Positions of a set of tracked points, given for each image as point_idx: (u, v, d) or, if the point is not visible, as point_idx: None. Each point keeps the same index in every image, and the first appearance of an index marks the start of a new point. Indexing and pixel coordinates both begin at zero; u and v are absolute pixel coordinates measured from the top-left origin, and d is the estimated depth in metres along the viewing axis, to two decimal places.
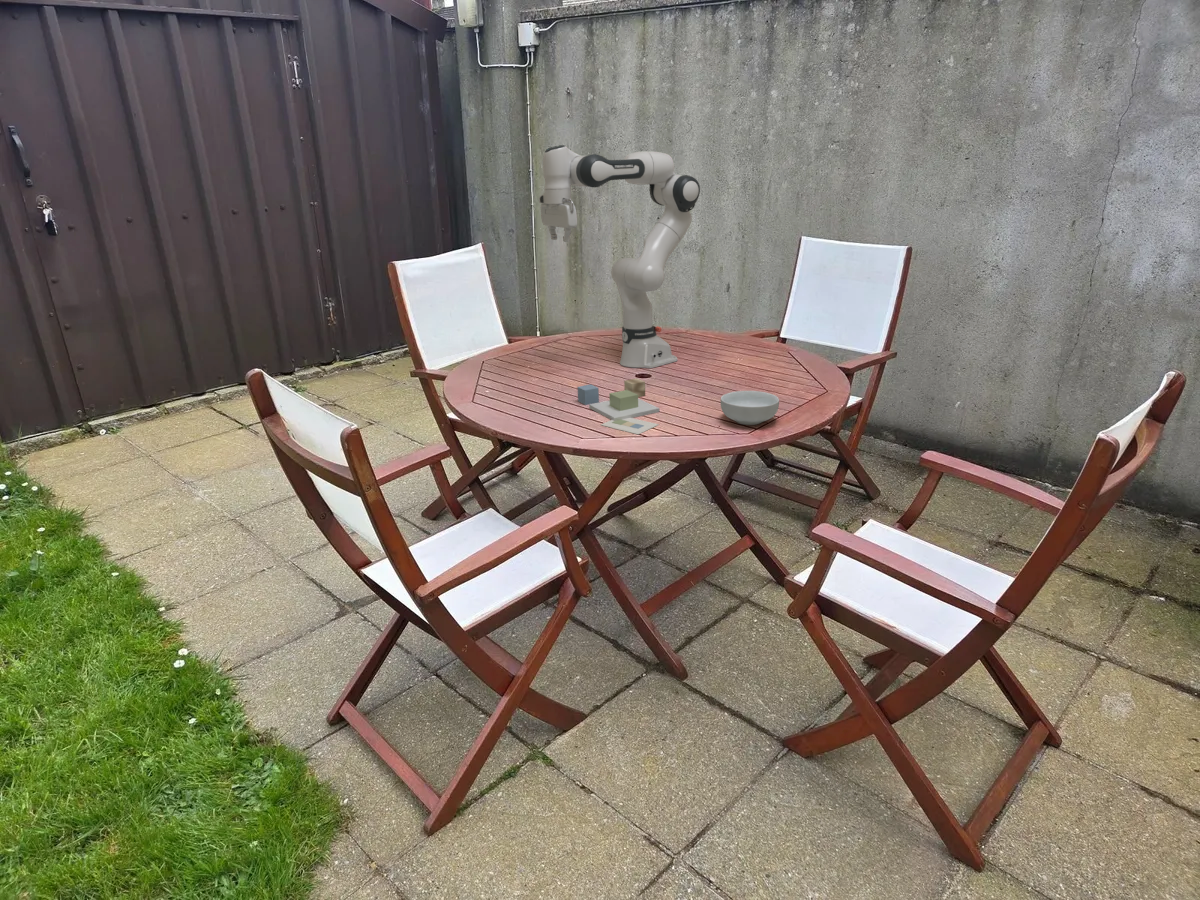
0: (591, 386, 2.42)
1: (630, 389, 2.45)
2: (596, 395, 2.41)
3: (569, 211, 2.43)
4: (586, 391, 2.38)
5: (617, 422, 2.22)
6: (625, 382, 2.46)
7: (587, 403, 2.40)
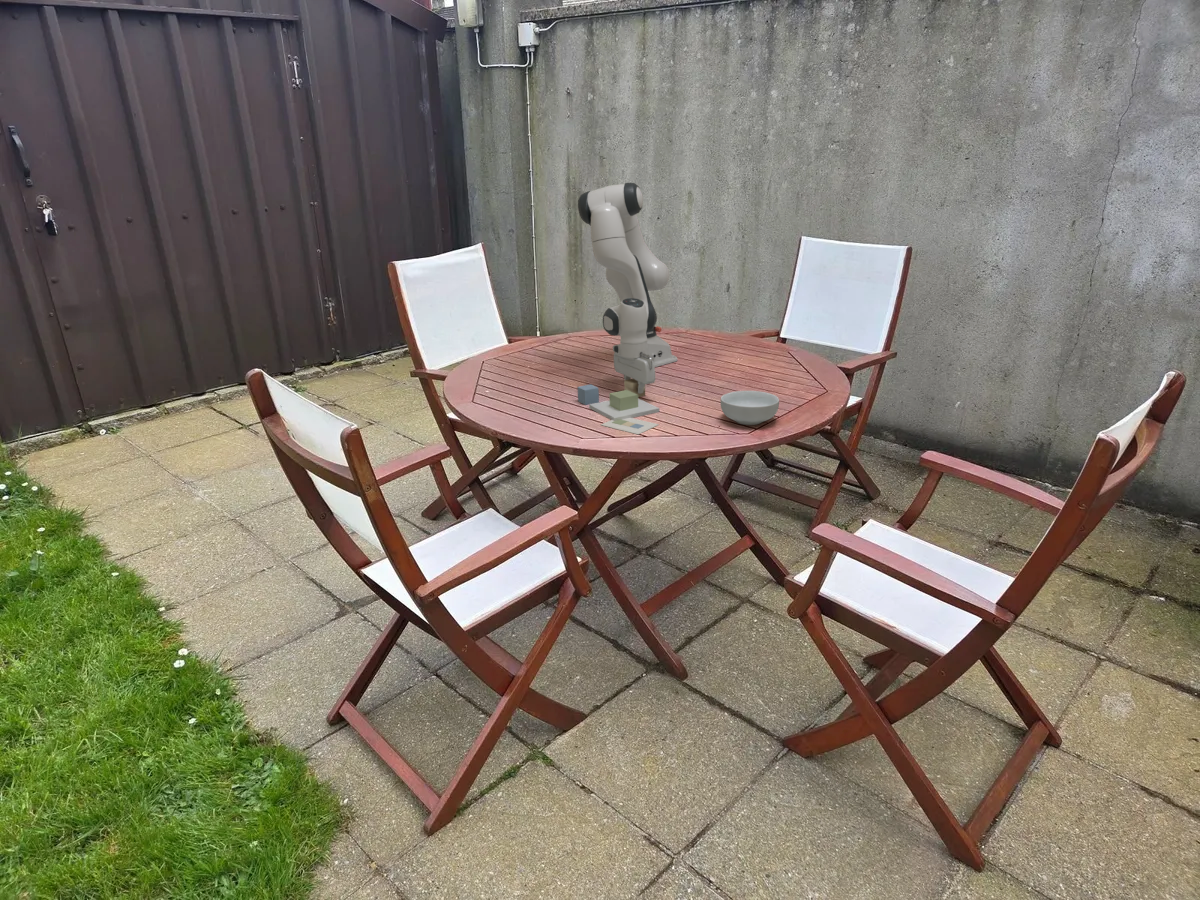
0: (591, 386, 2.42)
1: (630, 389, 2.44)
2: (596, 395, 2.41)
3: (647, 368, 2.35)
4: (586, 391, 2.38)
5: (617, 422, 2.22)
6: (625, 382, 2.46)
7: (587, 403, 2.40)
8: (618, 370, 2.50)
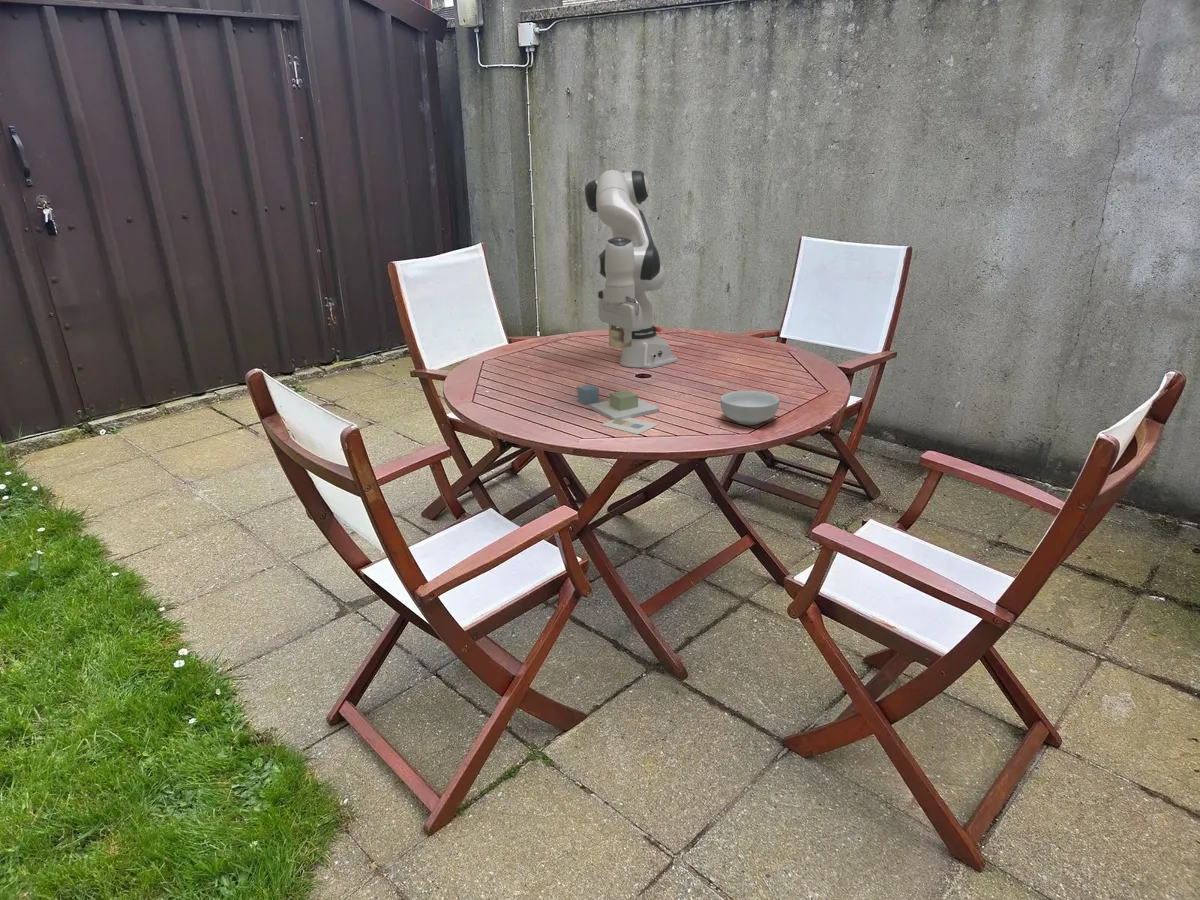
0: (591, 386, 2.42)
1: (615, 338, 2.23)
2: (596, 395, 2.41)
3: (634, 313, 2.14)
4: (586, 391, 2.38)
5: (617, 422, 2.22)
6: (610, 331, 2.25)
7: (587, 403, 2.40)
8: (603, 319, 2.29)
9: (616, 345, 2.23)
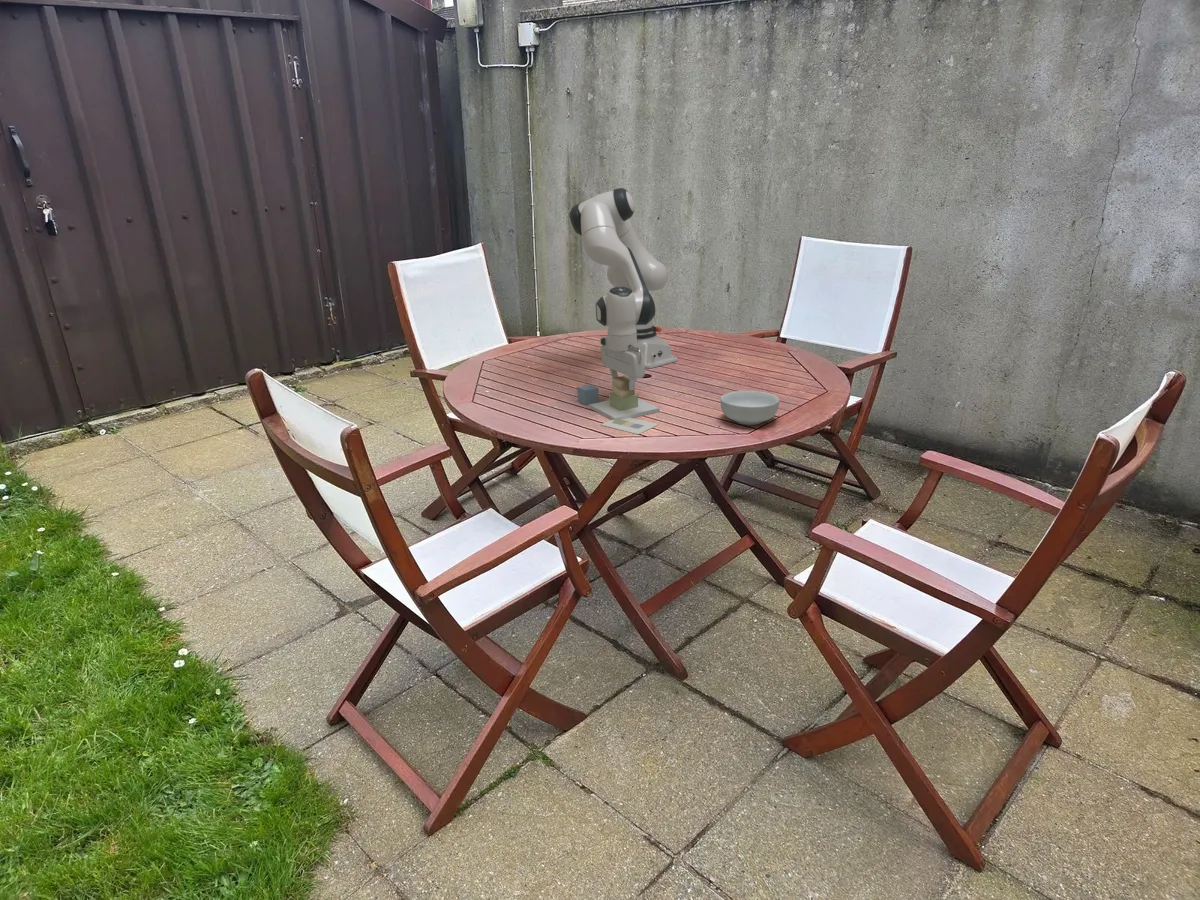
0: (591, 386, 2.42)
1: (618, 387, 2.29)
2: (596, 395, 2.41)
3: (636, 361, 2.19)
4: (586, 391, 2.38)
5: (617, 422, 2.22)
6: (613, 380, 2.31)
7: (587, 403, 2.40)
8: (606, 364, 2.34)
9: (619, 394, 2.29)
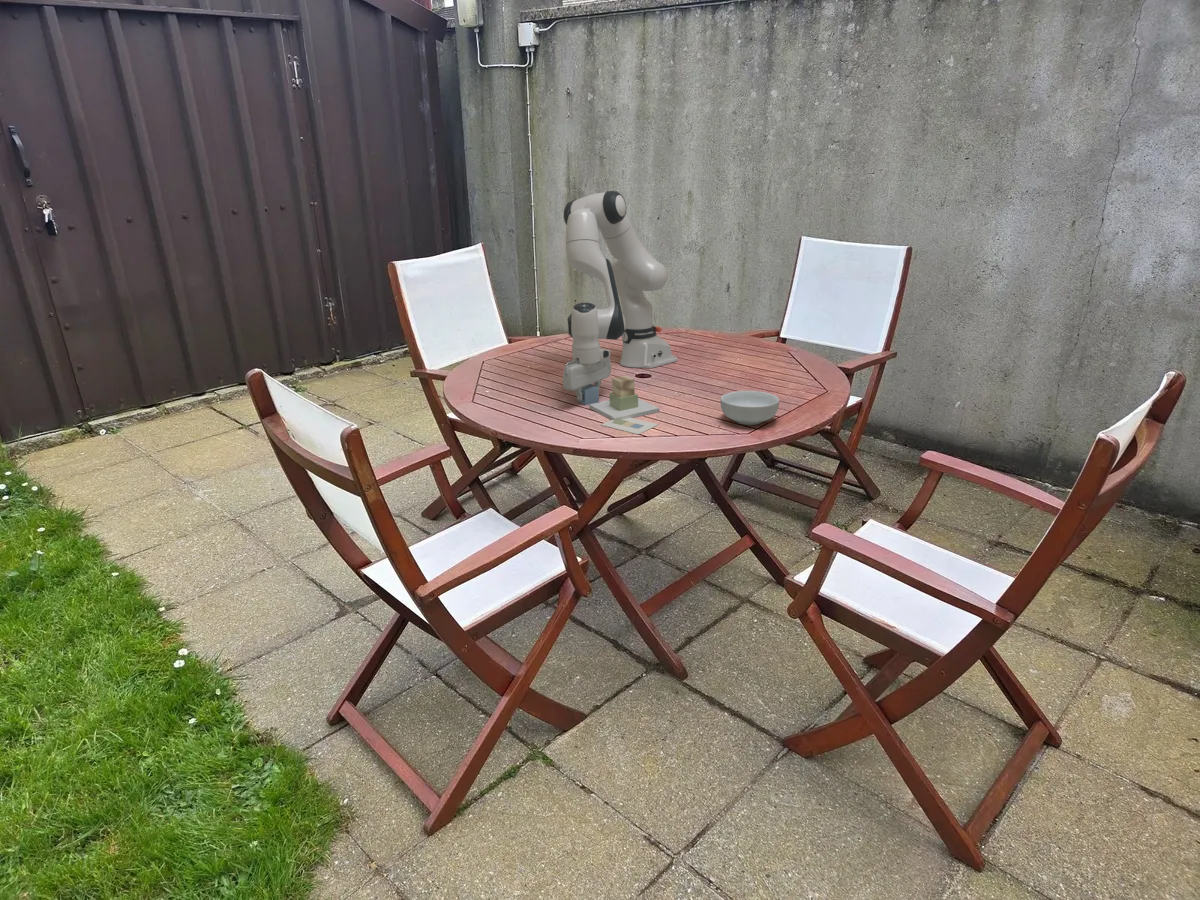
0: (591, 386, 2.42)
1: (618, 387, 2.29)
2: (596, 395, 2.41)
3: (564, 373, 2.32)
4: (586, 391, 2.38)
5: (617, 422, 2.22)
6: (613, 380, 2.31)
7: (587, 403, 2.40)
8: None
9: (619, 394, 2.29)
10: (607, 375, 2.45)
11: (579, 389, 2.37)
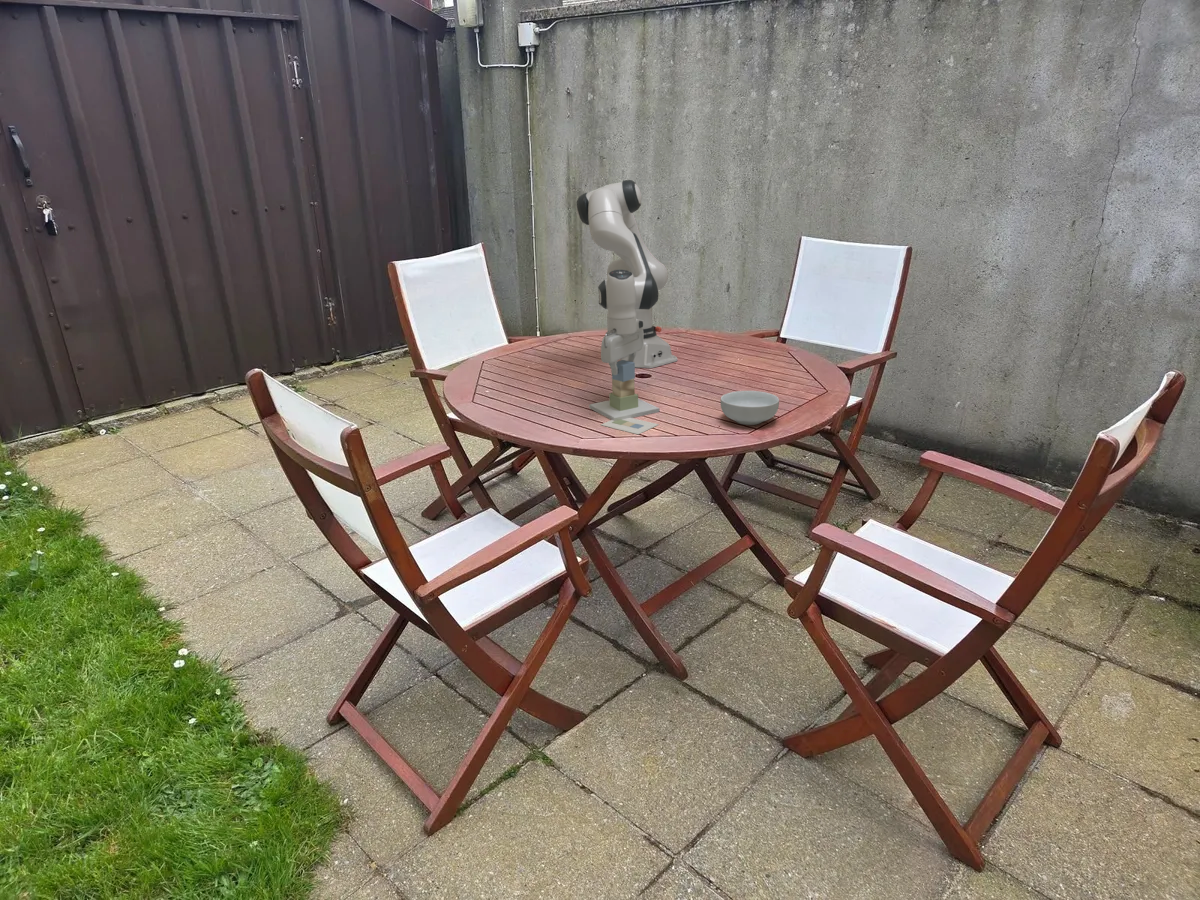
0: (626, 361, 2.29)
1: (618, 387, 2.29)
2: (632, 370, 2.29)
3: (603, 345, 2.18)
4: (624, 366, 2.25)
5: (617, 422, 2.22)
6: (613, 380, 2.31)
7: (625, 379, 2.27)
8: None
9: (619, 394, 2.29)
10: (640, 347, 2.33)
11: (615, 363, 2.22)
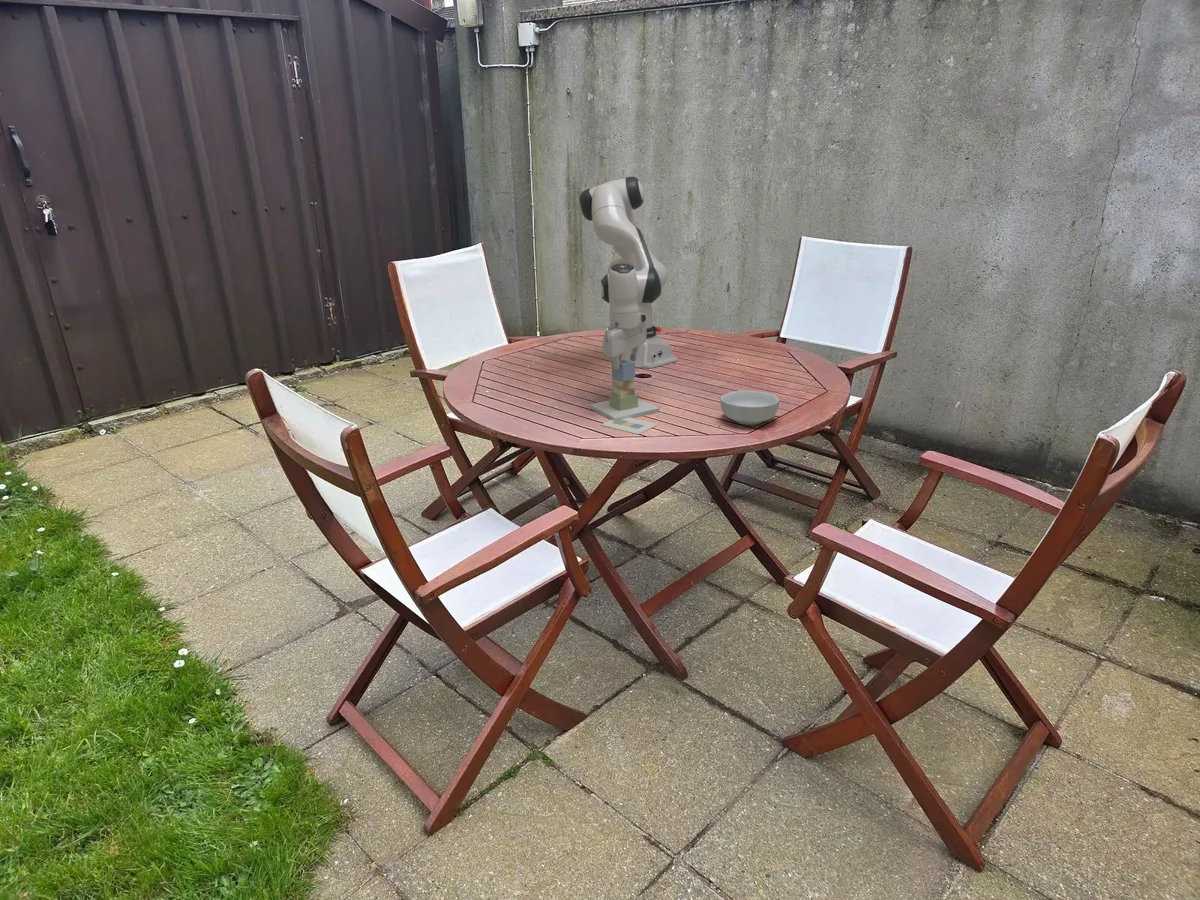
0: (626, 361, 2.30)
1: (618, 387, 2.29)
2: (633, 370, 2.29)
3: (605, 339, 2.19)
4: (624, 366, 2.26)
5: (617, 422, 2.22)
6: (613, 380, 2.31)
7: (625, 379, 2.27)
8: None
9: (619, 394, 2.29)
10: (643, 341, 2.33)
11: (617, 357, 2.23)
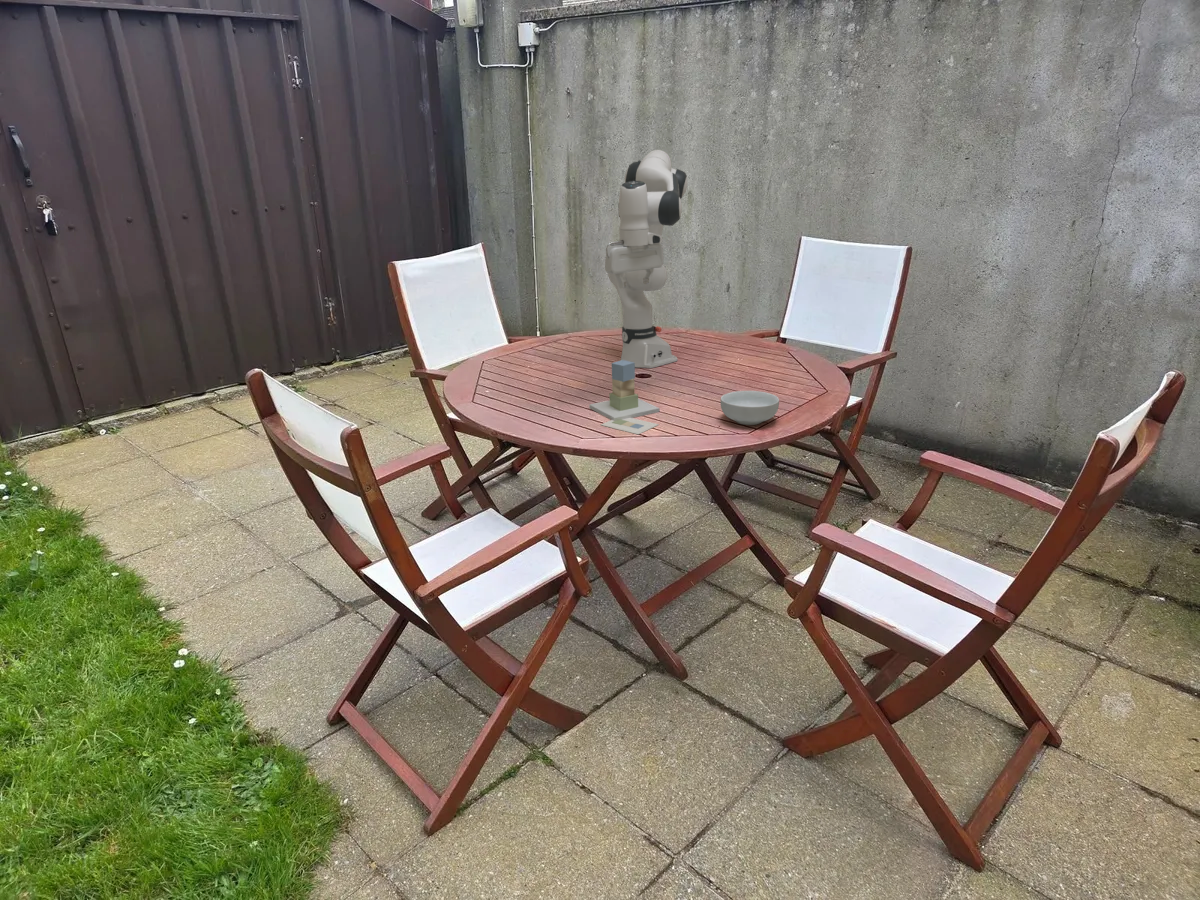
0: (626, 361, 2.29)
1: (618, 387, 2.29)
2: (632, 370, 2.29)
3: (607, 255, 2.20)
4: (624, 366, 2.25)
5: (617, 422, 2.22)
6: (613, 380, 2.31)
7: (625, 379, 2.27)
8: None
9: (619, 394, 2.29)
10: (658, 265, 2.29)
11: (620, 275, 2.22)
